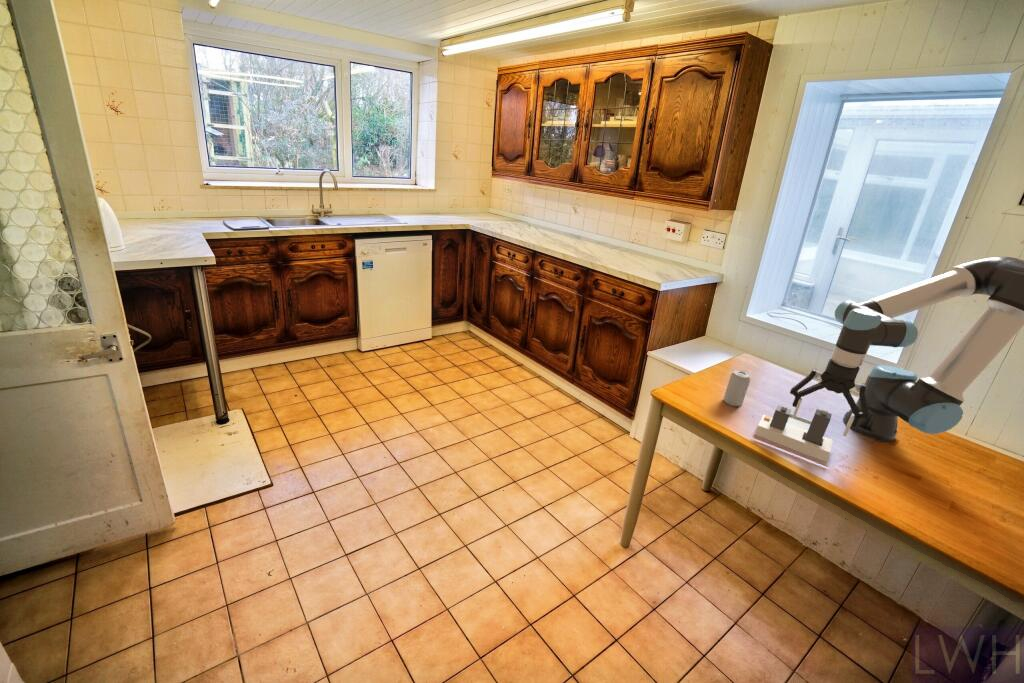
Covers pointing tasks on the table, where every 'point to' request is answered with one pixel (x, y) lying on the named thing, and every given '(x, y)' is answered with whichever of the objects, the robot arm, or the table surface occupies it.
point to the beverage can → (737, 388)
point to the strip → (791, 435)
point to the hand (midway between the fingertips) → (818, 425)
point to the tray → (799, 422)
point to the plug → (818, 426)
